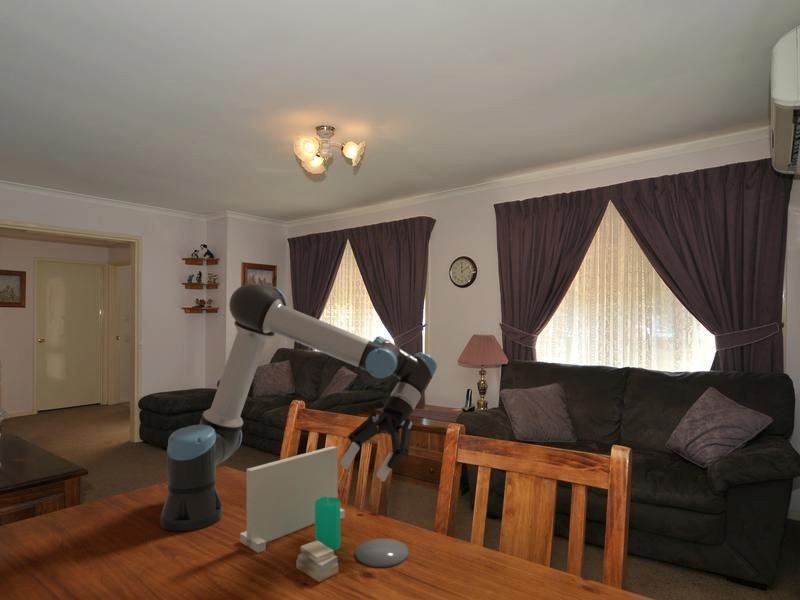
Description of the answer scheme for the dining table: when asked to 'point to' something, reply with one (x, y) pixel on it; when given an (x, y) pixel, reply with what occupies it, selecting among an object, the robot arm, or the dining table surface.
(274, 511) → the standing panel with feet
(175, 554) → the dining table surface
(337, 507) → the candle
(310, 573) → the offcut stack
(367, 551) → the coaster
